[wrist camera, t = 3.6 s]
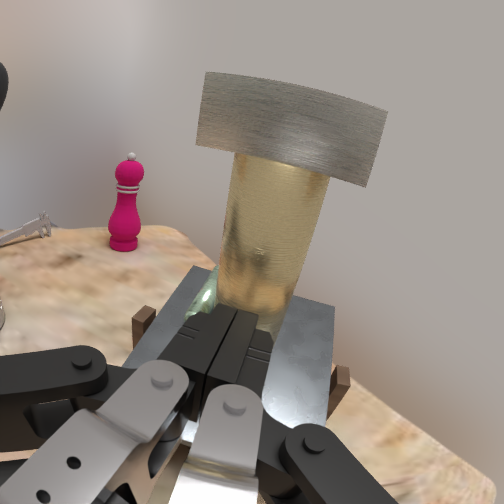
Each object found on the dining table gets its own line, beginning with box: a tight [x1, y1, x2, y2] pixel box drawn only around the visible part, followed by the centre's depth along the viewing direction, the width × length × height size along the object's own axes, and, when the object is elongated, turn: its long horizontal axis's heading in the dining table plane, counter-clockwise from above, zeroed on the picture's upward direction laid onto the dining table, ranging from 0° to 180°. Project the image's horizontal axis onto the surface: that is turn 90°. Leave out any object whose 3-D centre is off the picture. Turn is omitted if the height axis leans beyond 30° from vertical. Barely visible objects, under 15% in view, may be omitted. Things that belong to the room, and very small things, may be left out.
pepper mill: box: [108, 153, 144, 252], centre depth 53 cm, size 7×7×20 cm
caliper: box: [0, 211, 51, 245], centre depth 42 cm, size 20×1×6 cm, turn 148°
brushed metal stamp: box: [122, 72, 388, 447], centre depth 17 cm, size 18×16×21 cm
